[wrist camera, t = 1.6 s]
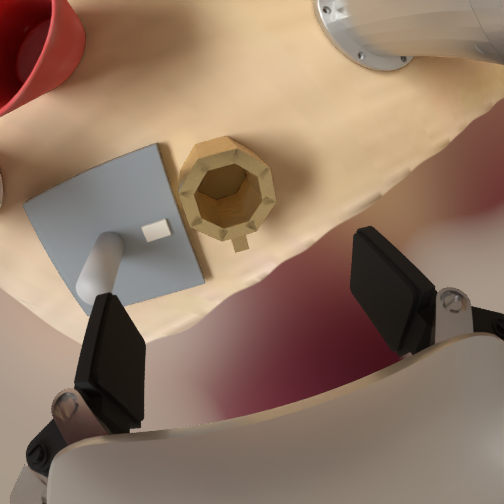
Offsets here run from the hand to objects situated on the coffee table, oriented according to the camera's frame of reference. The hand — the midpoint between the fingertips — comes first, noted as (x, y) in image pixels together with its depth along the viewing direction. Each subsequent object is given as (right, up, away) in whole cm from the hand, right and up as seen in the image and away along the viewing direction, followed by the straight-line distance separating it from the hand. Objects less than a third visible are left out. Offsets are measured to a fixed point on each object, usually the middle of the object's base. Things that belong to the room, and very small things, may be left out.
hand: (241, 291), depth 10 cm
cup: (-2, +8, +15) cm, 17 cm away
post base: (-13, +3, +15) cm, 20 cm away
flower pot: (-17, +19, +4) cm, 26 cm away
